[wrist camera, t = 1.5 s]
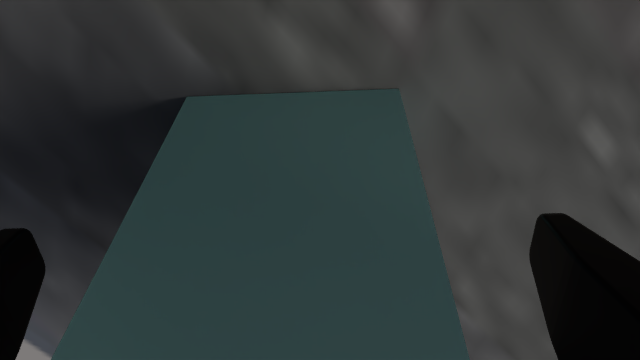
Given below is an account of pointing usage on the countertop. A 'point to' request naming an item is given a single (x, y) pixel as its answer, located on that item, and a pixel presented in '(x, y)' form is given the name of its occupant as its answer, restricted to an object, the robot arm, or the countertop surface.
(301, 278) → the end domino
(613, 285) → the robot arm
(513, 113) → the countertop surface
